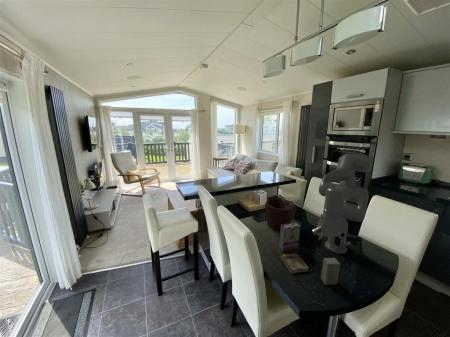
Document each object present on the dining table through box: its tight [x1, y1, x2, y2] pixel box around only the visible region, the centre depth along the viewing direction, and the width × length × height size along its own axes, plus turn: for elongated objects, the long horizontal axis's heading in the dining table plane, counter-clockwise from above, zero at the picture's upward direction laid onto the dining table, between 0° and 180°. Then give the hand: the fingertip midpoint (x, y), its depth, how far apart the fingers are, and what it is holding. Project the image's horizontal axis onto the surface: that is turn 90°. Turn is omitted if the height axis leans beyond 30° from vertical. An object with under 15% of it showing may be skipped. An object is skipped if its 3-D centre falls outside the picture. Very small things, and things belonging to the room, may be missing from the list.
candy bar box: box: [278, 222, 301, 253], centre depth 120 cm, size 11×5×16 cm, turn 105°
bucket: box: [264, 193, 297, 232], centre depth 147 cm, size 24×22×25 cm
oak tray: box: [280, 252, 309, 274], centre depth 108 cm, size 10×12×2 cm
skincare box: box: [320, 257, 341, 285], centre depth 95 cm, size 6×4×12 cm
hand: (327, 245), depth 94 cm, fingers open, 9 cm apart
